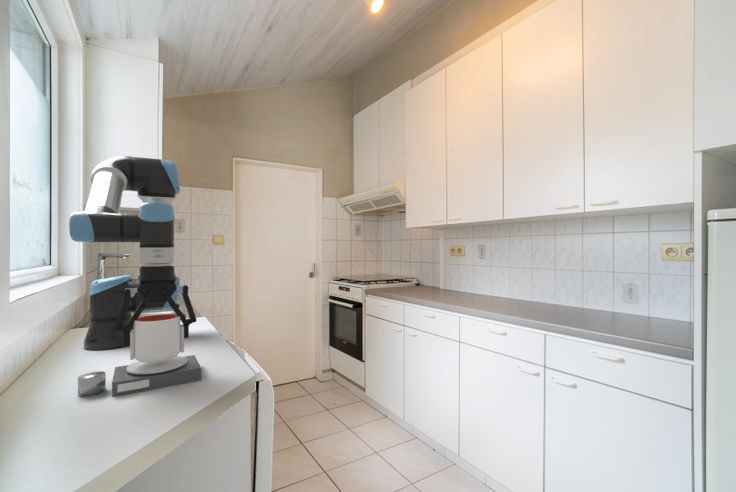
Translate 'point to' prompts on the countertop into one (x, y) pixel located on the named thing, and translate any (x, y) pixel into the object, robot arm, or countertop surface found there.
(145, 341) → the cup
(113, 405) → the countertop surface
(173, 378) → the scale
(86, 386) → the cylinder
